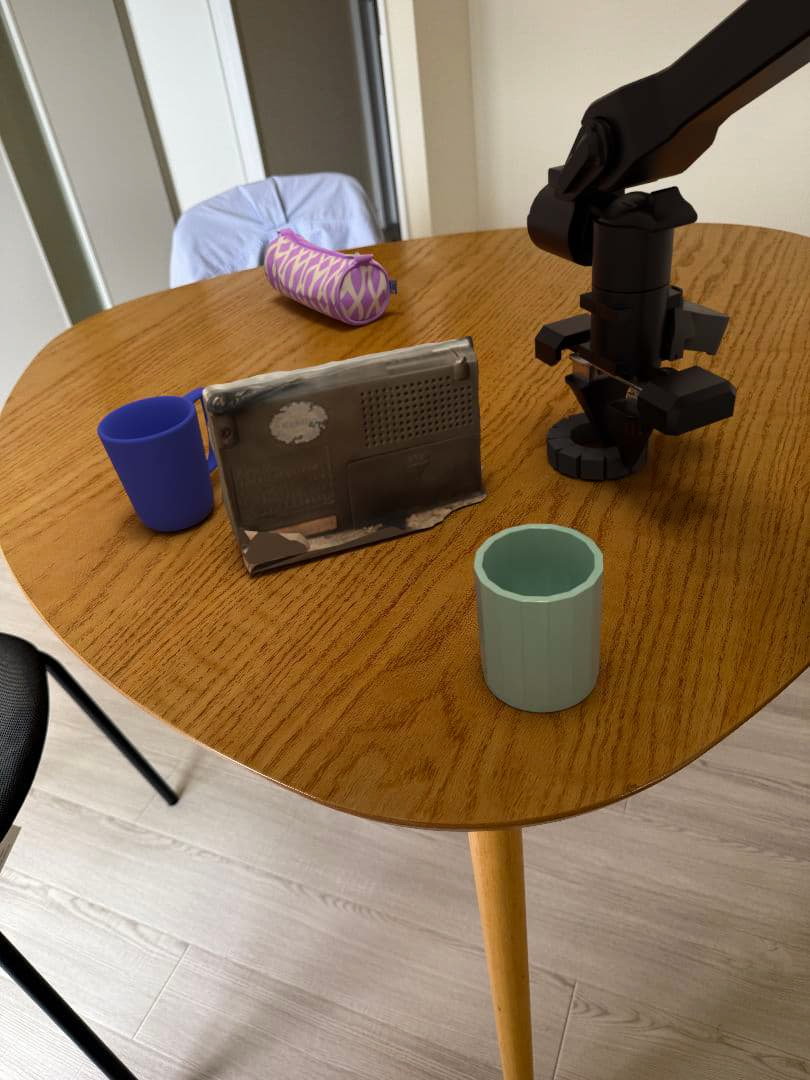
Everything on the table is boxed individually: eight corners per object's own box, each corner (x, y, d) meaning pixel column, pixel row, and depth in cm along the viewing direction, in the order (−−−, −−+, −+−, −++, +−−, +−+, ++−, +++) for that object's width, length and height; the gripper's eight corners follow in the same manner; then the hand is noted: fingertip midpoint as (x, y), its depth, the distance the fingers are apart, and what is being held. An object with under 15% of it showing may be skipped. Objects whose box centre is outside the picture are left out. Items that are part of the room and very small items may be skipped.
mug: (264, 476, 75) (240, 380, 69) (187, 548, 67) (152, 446, 61) (197, 465, 78) (168, 373, 73) (115, 533, 70) (75, 434, 64)
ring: (620, 422, 75) (621, 404, 74) (665, 466, 68) (667, 446, 67) (533, 442, 74) (533, 423, 73) (570, 488, 67) (570, 468, 66)
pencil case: (403, 315, 106) (394, 244, 101) (348, 337, 102) (335, 264, 96) (314, 286, 121) (302, 222, 116) (263, 304, 117) (248, 239, 111)
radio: (483, 465, 72) (473, 307, 63) (517, 513, 65) (511, 344, 56) (233, 524, 69) (186, 367, 60) (241, 582, 62) (190, 413, 53)
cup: (572, 620, 54) (573, 513, 49) (617, 696, 48) (625, 584, 43) (469, 644, 53) (459, 538, 48) (502, 725, 47) (496, 614, 42)
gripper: (812, 286, 54) (775, 478, 63) (640, 232, 68) (630, 396, 77) (681, 326, 51) (662, 522, 60) (529, 262, 65) (533, 428, 74)
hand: (620, 459), depth 68 cm, fingers closed on ring, 2 cm apart
